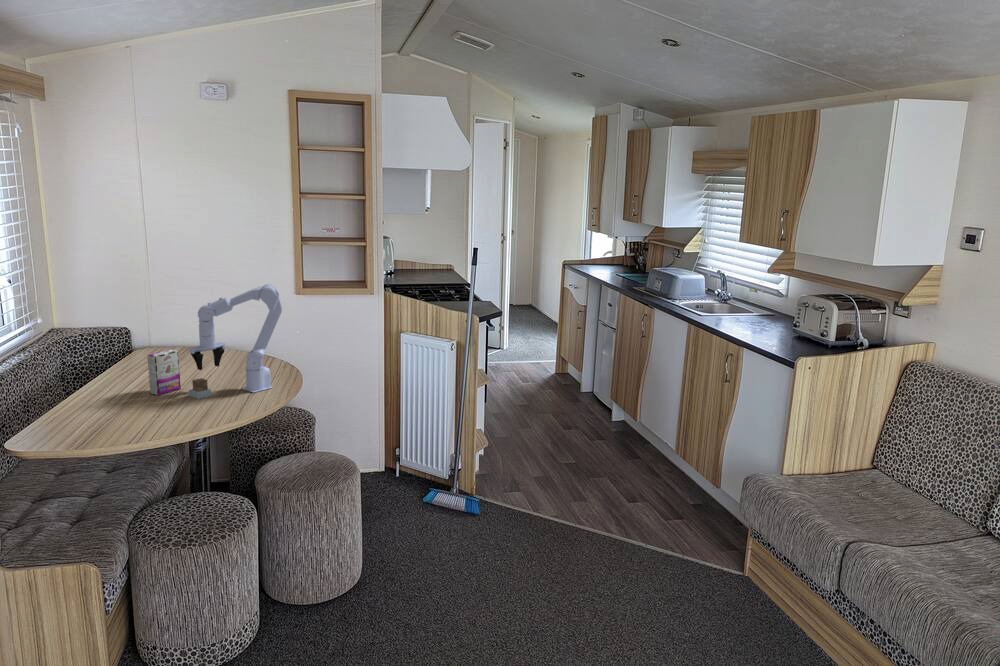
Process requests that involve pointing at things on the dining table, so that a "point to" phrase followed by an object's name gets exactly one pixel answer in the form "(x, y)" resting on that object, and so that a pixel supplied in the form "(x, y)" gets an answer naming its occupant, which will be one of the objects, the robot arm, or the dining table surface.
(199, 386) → the walnut cube
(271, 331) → the robot arm
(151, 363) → the candy bar box
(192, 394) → the base block
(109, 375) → the dining table surface
